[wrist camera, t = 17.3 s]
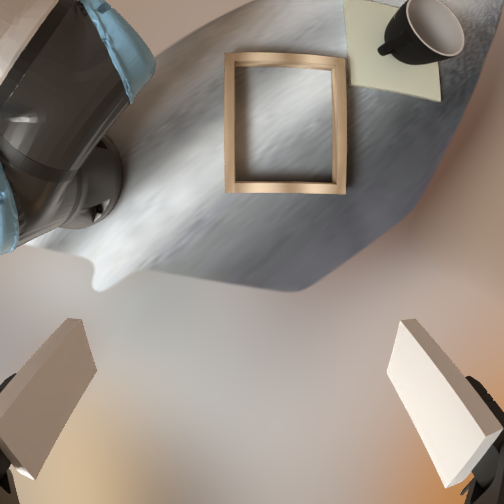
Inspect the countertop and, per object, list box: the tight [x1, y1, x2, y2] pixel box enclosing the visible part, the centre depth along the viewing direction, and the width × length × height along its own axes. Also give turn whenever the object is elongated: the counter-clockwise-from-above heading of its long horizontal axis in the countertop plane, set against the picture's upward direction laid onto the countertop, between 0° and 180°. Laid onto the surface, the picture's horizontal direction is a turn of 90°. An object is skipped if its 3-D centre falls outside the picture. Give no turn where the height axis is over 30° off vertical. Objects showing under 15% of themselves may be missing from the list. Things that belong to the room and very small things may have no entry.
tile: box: [343, 0, 441, 102], centre depth 34 cm, size 15×15×1 cm
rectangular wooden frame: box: [224, 52, 347, 194], centre depth 37 cm, size 15×18×3 cm
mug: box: [377, 0, 465, 65], centre depth 28 cm, size 12×9×10 cm
